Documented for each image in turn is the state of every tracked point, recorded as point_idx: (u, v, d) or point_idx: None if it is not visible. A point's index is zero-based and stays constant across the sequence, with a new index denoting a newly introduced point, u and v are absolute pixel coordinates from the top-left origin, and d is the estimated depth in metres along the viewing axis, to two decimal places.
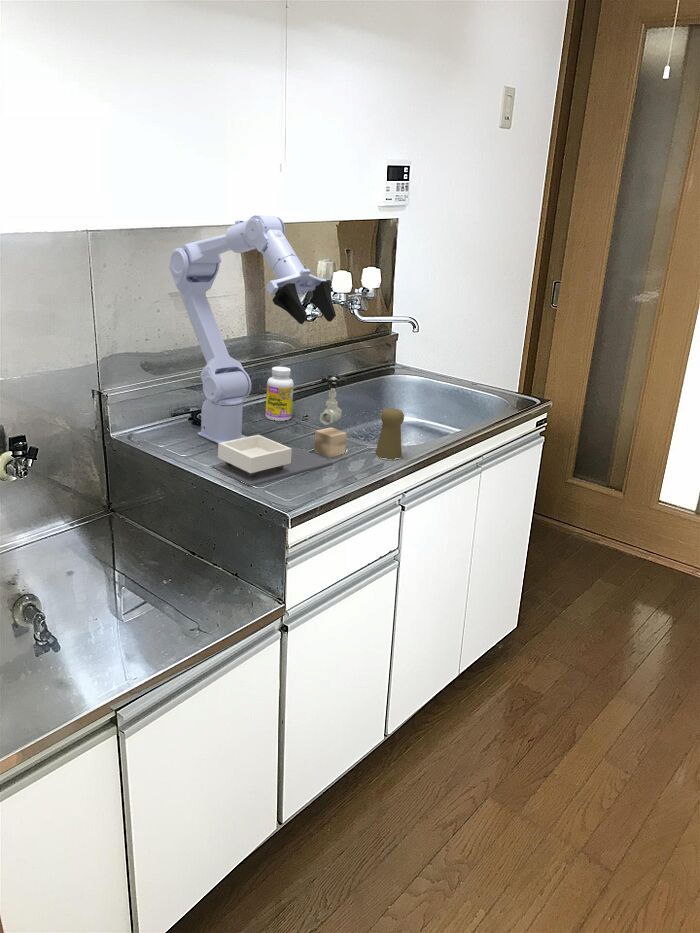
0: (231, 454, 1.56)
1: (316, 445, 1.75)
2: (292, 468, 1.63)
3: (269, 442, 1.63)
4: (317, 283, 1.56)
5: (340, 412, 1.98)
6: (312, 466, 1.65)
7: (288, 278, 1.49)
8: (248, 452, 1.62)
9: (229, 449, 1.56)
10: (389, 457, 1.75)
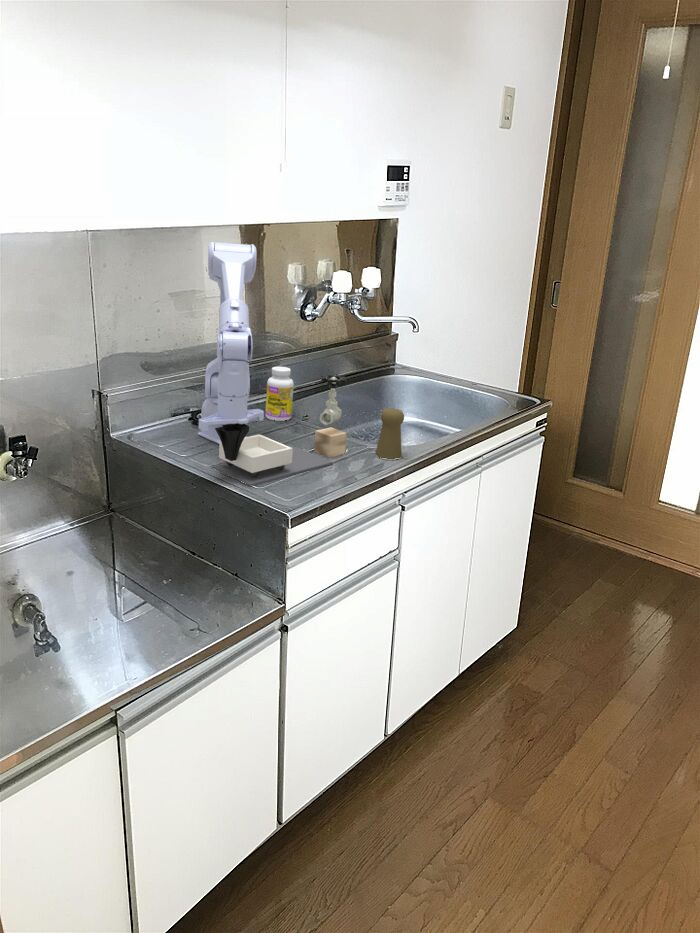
0: None
1: (316, 445, 1.75)
2: (292, 468, 1.63)
3: (270, 442, 1.63)
4: None
5: (340, 412, 1.98)
6: (312, 466, 1.65)
7: (222, 423, 1.49)
8: (249, 452, 1.62)
9: None
10: (389, 457, 1.75)
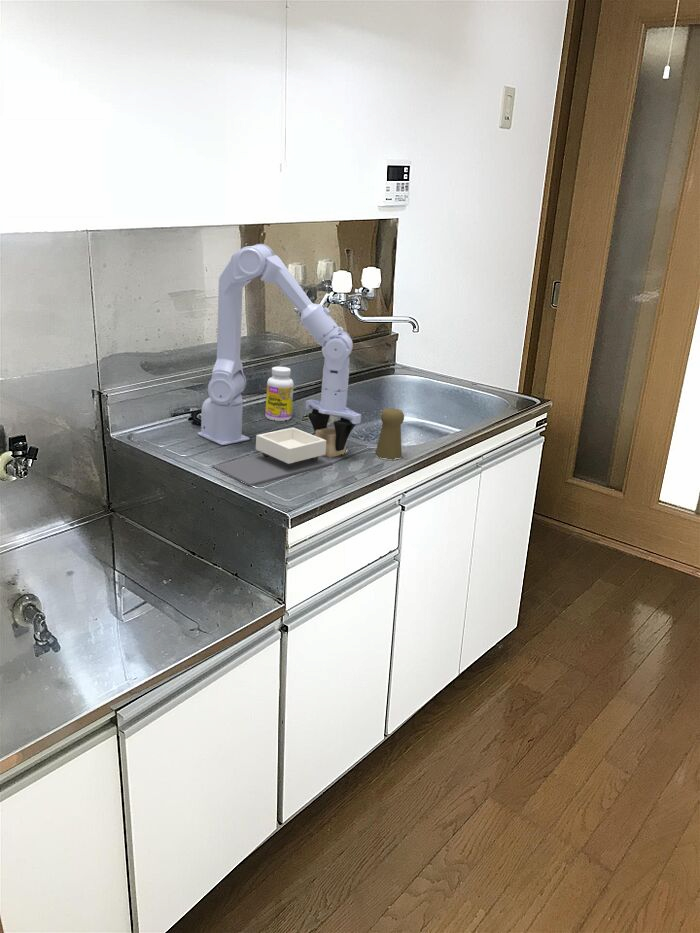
0: (269, 445, 1.63)
1: None
2: (292, 468, 1.63)
3: (304, 434, 1.70)
4: None
5: None
6: (312, 466, 1.65)
7: (314, 407, 1.73)
8: (284, 444, 1.69)
9: (267, 441, 1.63)
10: (389, 457, 1.75)
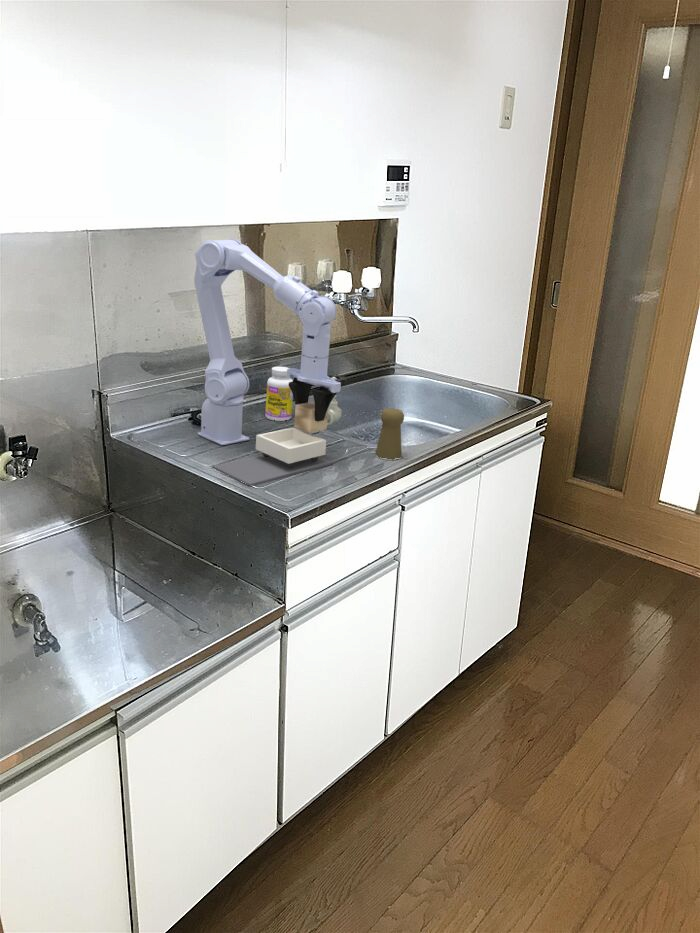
0: (269, 445, 1.63)
1: (296, 420, 1.68)
2: (292, 468, 1.63)
3: (304, 434, 1.70)
4: None
5: (340, 412, 1.98)
6: (312, 466, 1.65)
7: (294, 375, 1.66)
8: (284, 444, 1.69)
9: (267, 441, 1.63)
10: (389, 457, 1.75)
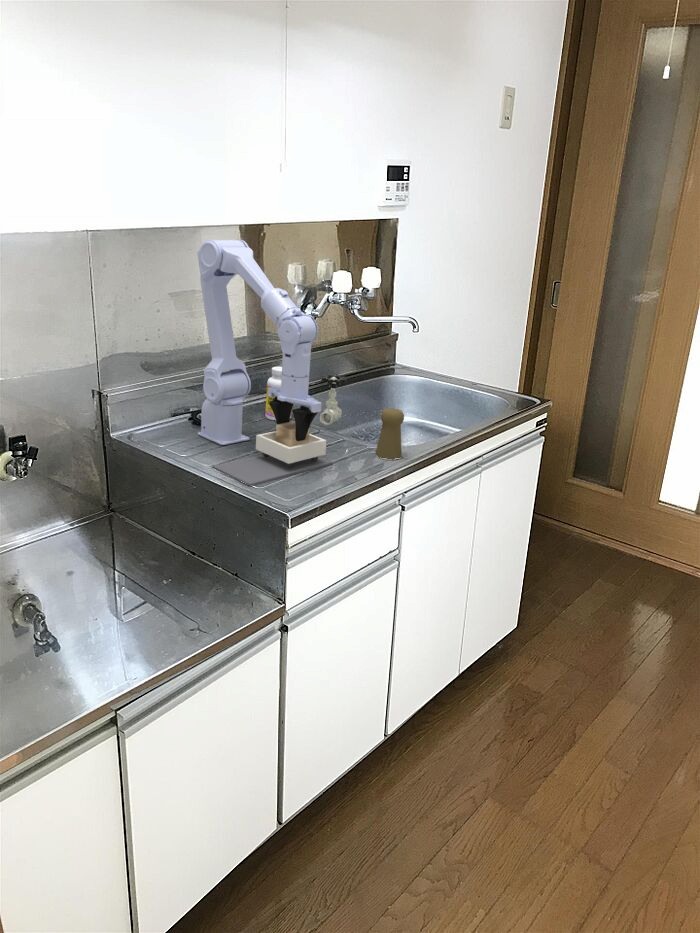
0: (269, 445, 1.63)
1: (277, 440, 1.66)
2: (292, 468, 1.63)
3: None
4: None
5: (340, 412, 1.98)
6: (312, 466, 1.65)
7: (275, 394, 1.64)
8: None
9: (267, 441, 1.63)
10: (389, 457, 1.75)
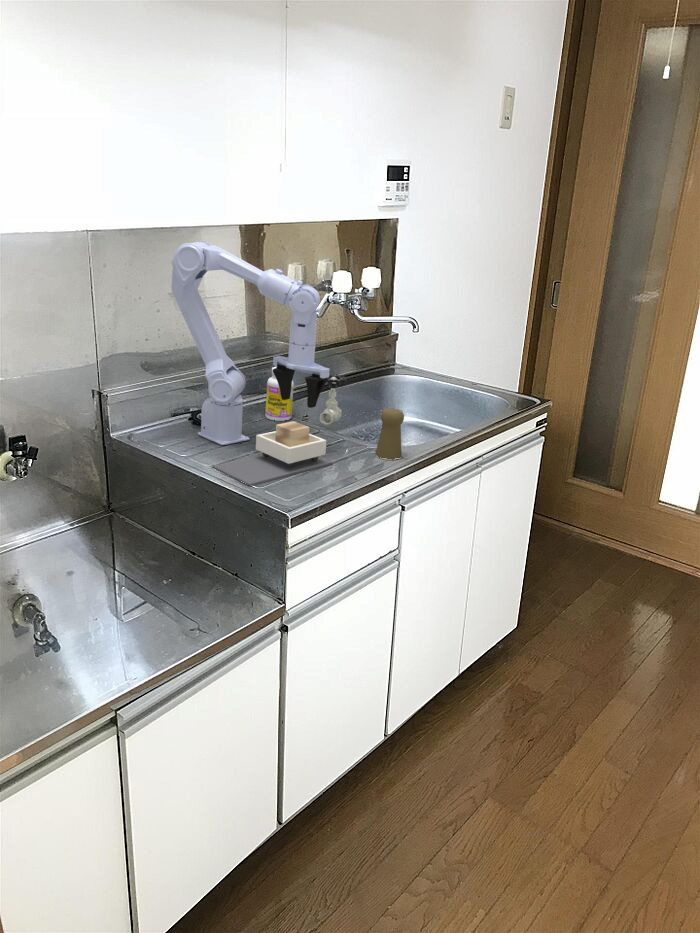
0: (269, 445, 1.63)
1: (277, 440, 1.66)
2: (292, 468, 1.63)
3: None
4: None
5: (340, 412, 1.98)
6: (312, 466, 1.65)
7: (282, 362, 1.72)
8: None
9: (267, 441, 1.63)
10: (389, 457, 1.75)
